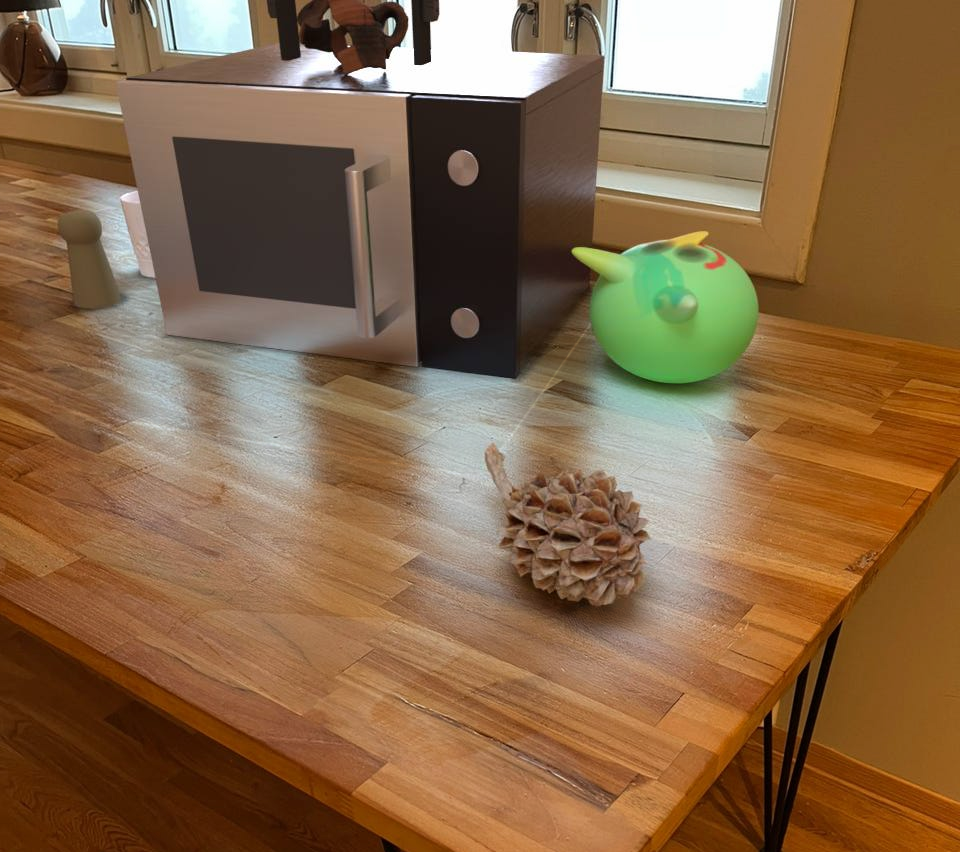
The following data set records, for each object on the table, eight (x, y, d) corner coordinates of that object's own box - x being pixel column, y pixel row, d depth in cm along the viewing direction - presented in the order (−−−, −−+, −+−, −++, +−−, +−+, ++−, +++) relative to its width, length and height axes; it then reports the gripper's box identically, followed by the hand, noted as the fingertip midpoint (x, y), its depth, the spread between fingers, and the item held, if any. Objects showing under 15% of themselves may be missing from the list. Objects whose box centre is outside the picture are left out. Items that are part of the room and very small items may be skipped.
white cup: (204, 270, 137) (191, 195, 131) (155, 283, 133) (139, 206, 126) (173, 259, 141) (159, 186, 135) (125, 271, 137) (108, 196, 131)
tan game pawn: (130, 295, 129) (110, 207, 122) (108, 309, 124) (86, 219, 117) (88, 292, 130) (66, 205, 123) (65, 307, 125) (41, 217, 118)
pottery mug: (320, 82, 101) (288, -1, 99) (320, 113, 110) (290, 38, 108) (425, 43, 102) (396, -40, 100) (416, 77, 111) (389, 2, 109)
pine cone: (681, 619, 70) (699, 498, 64) (571, 661, 66) (580, 536, 60) (520, 492, 85) (523, 385, 79) (424, 520, 81) (419, 410, 75)
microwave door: (393, 391, 103) (375, 108, 86) (132, 355, 111) (72, 91, 95) (422, 362, 109) (411, 94, 93) (174, 330, 117) (124, 79, 101)
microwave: (513, 382, 105) (518, 101, 88) (164, 337, 116) (111, 80, 100) (589, 285, 131) (604, 55, 115) (299, 256, 143) (275, 43, 126)
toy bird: (774, 377, 106) (801, 237, 97) (682, 424, 96) (703, 273, 87) (644, 336, 116) (657, 205, 107) (549, 374, 106) (555, 235, 97)
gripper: (493, -242, 78) (492, 60, 91) (222, -229, 85) (257, 52, 97) (463, -253, 73) (467, 71, 86) (175, -238, 79) (219, 62, 92)
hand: (355, 62), depth 92 cm, fingers open, 13 cm apart
